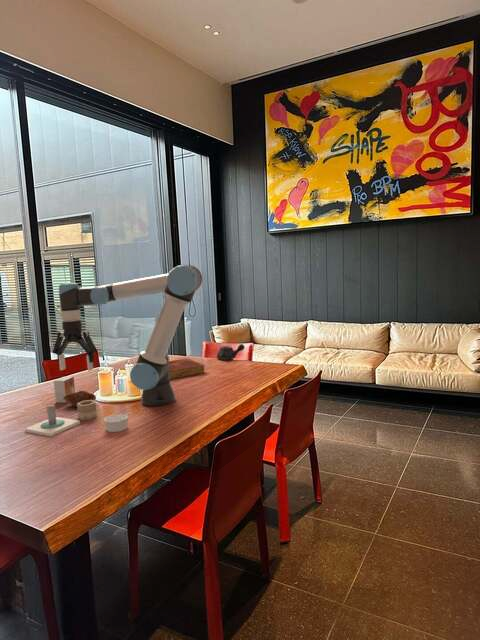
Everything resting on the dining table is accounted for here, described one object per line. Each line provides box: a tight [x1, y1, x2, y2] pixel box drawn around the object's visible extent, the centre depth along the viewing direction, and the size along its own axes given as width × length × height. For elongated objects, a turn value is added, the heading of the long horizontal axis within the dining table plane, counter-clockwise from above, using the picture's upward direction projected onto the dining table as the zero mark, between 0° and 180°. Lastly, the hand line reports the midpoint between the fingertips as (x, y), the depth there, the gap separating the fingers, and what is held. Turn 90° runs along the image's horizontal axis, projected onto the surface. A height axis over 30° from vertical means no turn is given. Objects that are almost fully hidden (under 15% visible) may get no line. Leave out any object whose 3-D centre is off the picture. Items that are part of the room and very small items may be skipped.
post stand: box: [24, 404, 81, 438], centre depth 167 cm, size 14×14×9 cm
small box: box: [53, 376, 76, 404], centre depth 202 cm, size 8×6×10 cm
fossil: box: [63, 389, 97, 408], centre depth 192 cm, size 13×8×10 cm
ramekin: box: [103, 413, 129, 433], centre depth 163 cm, size 9×9×4 cm
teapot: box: [216, 343, 245, 361], centre depth 276 cm, size 19×15×10 cm
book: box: [169, 358, 205, 380], centre depth 246 cm, size 30×24×5 cm
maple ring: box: [76, 400, 98, 421], centre depth 178 cm, size 7×7×6 cm
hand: (76, 369), depth 182 cm, fingers open, 13 cm apart
